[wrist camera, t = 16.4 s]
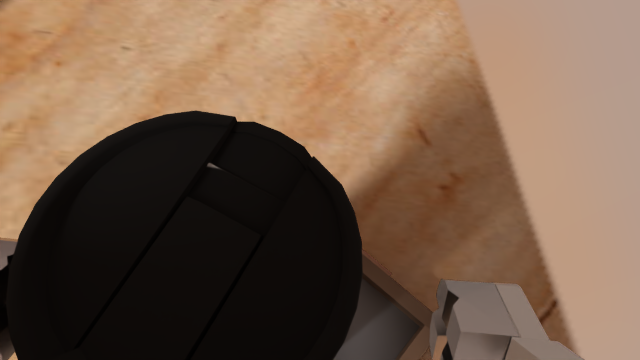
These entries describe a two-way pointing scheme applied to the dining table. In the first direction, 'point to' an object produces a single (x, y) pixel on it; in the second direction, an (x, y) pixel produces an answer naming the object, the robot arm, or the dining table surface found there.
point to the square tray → (385, 319)
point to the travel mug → (187, 250)
